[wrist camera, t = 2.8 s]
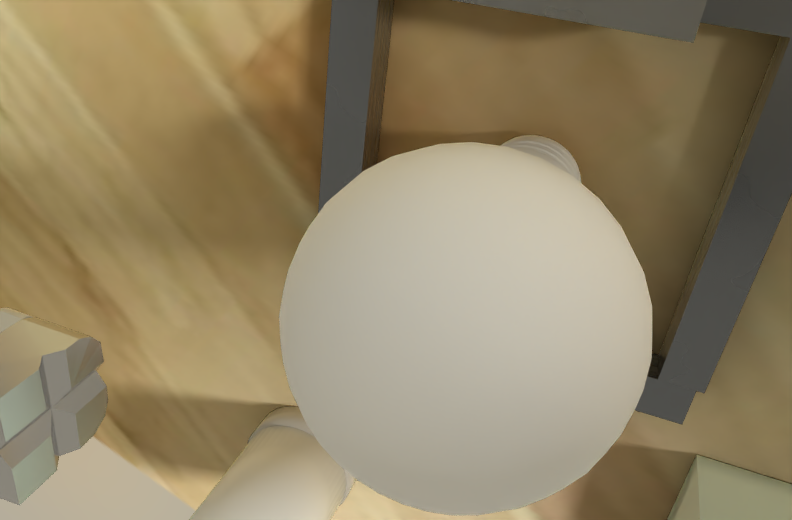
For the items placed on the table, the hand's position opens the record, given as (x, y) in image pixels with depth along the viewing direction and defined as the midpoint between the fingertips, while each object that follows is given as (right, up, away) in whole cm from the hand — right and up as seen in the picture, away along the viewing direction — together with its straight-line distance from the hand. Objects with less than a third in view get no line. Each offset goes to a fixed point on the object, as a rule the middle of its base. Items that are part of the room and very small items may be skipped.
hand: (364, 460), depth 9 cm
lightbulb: (+4, +5, +10) cm, 12 cm away
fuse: (-3, -5, +17) cm, 18 cm away
